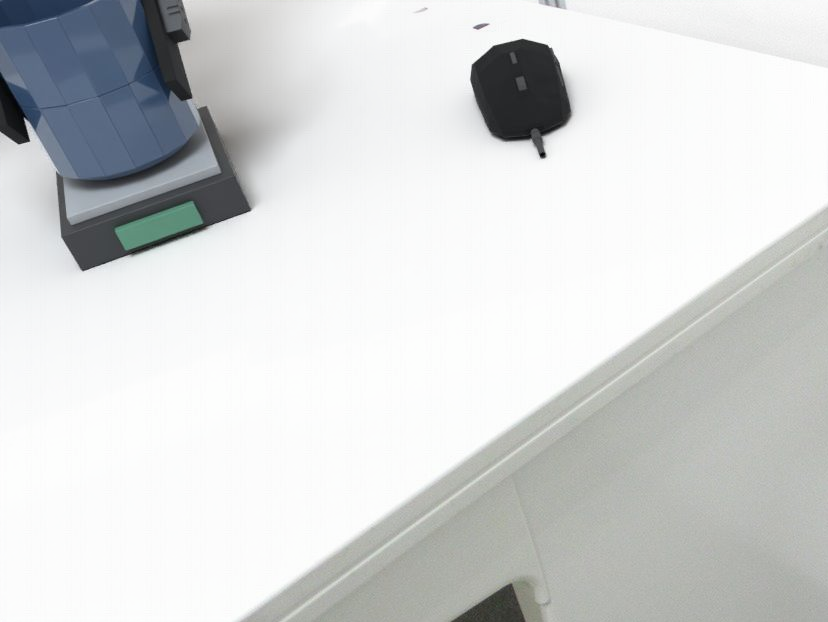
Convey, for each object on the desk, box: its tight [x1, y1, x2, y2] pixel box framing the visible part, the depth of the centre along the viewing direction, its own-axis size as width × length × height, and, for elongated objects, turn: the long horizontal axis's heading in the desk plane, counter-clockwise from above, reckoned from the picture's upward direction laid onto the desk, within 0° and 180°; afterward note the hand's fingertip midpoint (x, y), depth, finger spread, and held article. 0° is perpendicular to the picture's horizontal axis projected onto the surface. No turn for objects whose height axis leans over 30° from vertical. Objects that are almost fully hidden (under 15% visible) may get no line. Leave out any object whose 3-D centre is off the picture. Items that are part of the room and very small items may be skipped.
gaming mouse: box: [469, 38, 572, 159], centre depth 73 cm, size 6×15×4 cm, turn 13°
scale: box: [55, 105, 252, 272], centre depth 73 cm, size 15×11×3 cm
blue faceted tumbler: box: [0, 0, 200, 181], centre depth 68 cm, size 10×10×10 cm
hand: (96, 112), depth 67 cm, fingers closed on blue faceted tumbler, 10 cm apart
